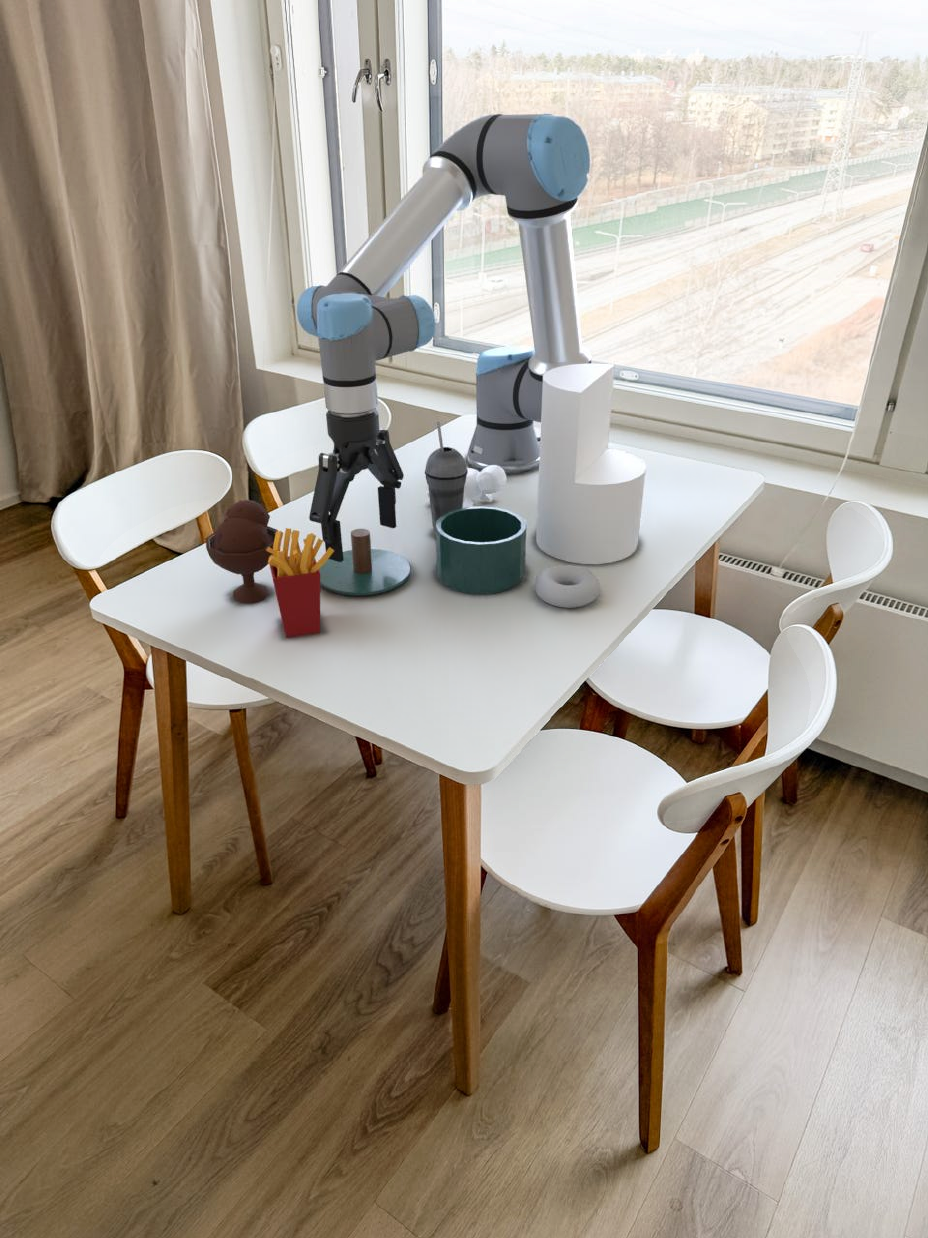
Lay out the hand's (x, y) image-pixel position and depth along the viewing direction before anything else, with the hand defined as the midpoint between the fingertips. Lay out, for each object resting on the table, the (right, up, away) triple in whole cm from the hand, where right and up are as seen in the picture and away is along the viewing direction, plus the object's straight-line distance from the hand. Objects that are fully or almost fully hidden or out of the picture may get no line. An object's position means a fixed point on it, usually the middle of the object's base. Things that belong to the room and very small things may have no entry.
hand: (362, 542), depth 137 cm
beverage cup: (+13, +3, +16) cm, 21 cm away
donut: (+32, -9, -3) cm, 33 cm away
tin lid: (0, -5, +2) cm, 5 cm away
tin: (+19, -5, +3) cm, 19 cm away
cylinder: (+37, +1, +13) cm, 39 cm away
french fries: (-7, -13, -10) cm, 18 cm away
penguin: (+17, +9, +26) cm, 32 cm away
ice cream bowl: (-17, -8, -2) cm, 19 cm away
